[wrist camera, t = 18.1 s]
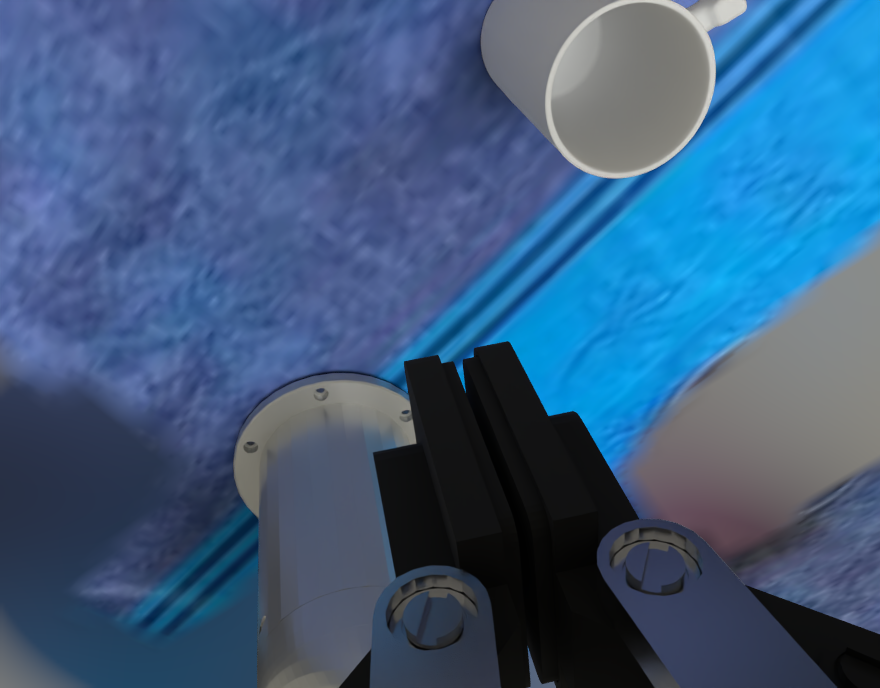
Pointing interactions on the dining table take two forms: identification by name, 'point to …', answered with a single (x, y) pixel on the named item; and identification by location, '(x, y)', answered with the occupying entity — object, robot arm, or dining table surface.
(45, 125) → the dining table surface
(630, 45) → the mug
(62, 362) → the dining table surface
